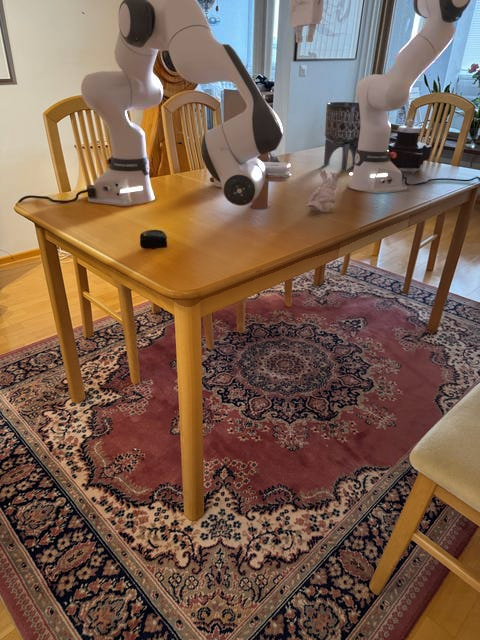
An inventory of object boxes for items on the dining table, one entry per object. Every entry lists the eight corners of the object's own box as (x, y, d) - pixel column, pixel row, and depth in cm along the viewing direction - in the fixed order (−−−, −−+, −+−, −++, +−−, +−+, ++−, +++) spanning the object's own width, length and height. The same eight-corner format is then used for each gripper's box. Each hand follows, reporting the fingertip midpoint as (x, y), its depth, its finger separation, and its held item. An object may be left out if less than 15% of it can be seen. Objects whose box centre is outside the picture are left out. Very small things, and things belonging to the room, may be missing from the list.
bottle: (268, 205, 154) (272, 139, 143) (265, 209, 149) (268, 141, 139) (253, 203, 155) (255, 138, 144) (249, 208, 151) (251, 140, 140)
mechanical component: (377, 119, 195) (405, 114, 215) (369, 169, 206) (397, 160, 225) (427, 124, 183) (452, 118, 203) (415, 177, 194) (441, 167, 213)
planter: (313, 167, 208) (319, 103, 195) (331, 160, 222) (338, 101, 209) (353, 173, 199) (362, 107, 185) (369, 166, 213) (379, 104, 199)
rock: (272, 163, 212) (273, 149, 209) (285, 167, 207) (286, 152, 203) (250, 167, 205) (251, 152, 201) (264, 171, 199) (264, 155, 196)
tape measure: (140, 252, 115) (139, 238, 113) (141, 242, 120) (140, 229, 119) (167, 251, 116) (166, 237, 114) (167, 241, 121) (166, 228, 120)
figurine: (341, 207, 153) (346, 168, 147) (322, 218, 142) (326, 176, 136) (319, 203, 157) (323, 165, 150) (299, 213, 146) (302, 173, 140)
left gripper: (290, 164, 110) (293, 154, 122) (208, 160, 112) (218, 150, 124) (289, 190, 113) (291, 178, 125) (208, 186, 115) (218, 174, 127)
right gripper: (331, -14, 132) (325, 41, 139) (306, -6, 149) (302, 43, 156) (310, -15, 131) (306, 41, 138) (287, -7, 148) (284, 42, 155)
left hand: (254, 164), depth 124 cm, fingers open, 8 cm apart
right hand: (304, 42), depth 147 cm, fingers open, 8 cm apart
